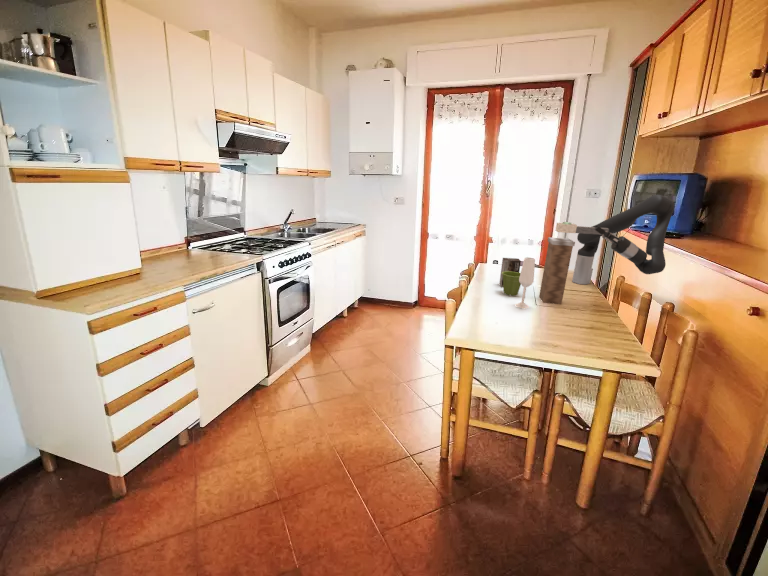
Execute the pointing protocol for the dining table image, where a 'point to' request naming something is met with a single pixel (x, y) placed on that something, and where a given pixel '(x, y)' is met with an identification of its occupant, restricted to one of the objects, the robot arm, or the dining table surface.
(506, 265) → the coffee box
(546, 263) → the anvil stand
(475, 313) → the dining table surface
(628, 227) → the robot arm
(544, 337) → the dining table surface
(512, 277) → the plant pot
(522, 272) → the champagne flute
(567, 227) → the block
